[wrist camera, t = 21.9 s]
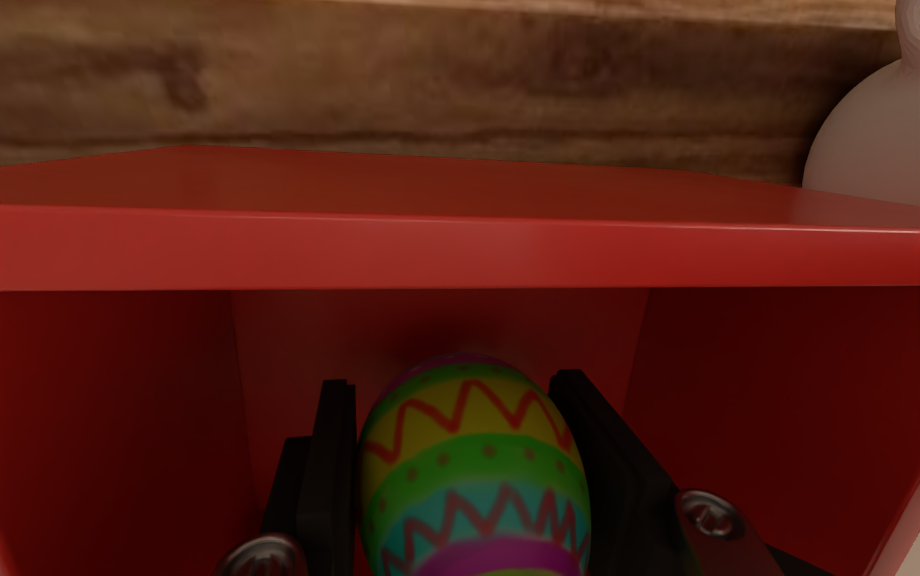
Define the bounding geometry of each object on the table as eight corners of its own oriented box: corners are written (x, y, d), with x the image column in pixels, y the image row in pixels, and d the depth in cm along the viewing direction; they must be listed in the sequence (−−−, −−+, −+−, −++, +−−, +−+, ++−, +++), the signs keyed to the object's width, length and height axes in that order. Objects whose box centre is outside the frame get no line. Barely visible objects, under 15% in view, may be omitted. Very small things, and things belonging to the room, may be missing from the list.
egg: (508, 483, 13) (605, 744, 8) (343, 473, 12) (316, 775, 6) (558, 340, 12) (723, 534, 6) (375, 312, 10) (376, 524, 5)
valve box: (242, 510, 16) (100, 922, 8) (188, 144, 11) (-274, 197, 3) (612, 475, 18) (797, 750, 10) (682, 169, 14) (1094, 232, 6)
